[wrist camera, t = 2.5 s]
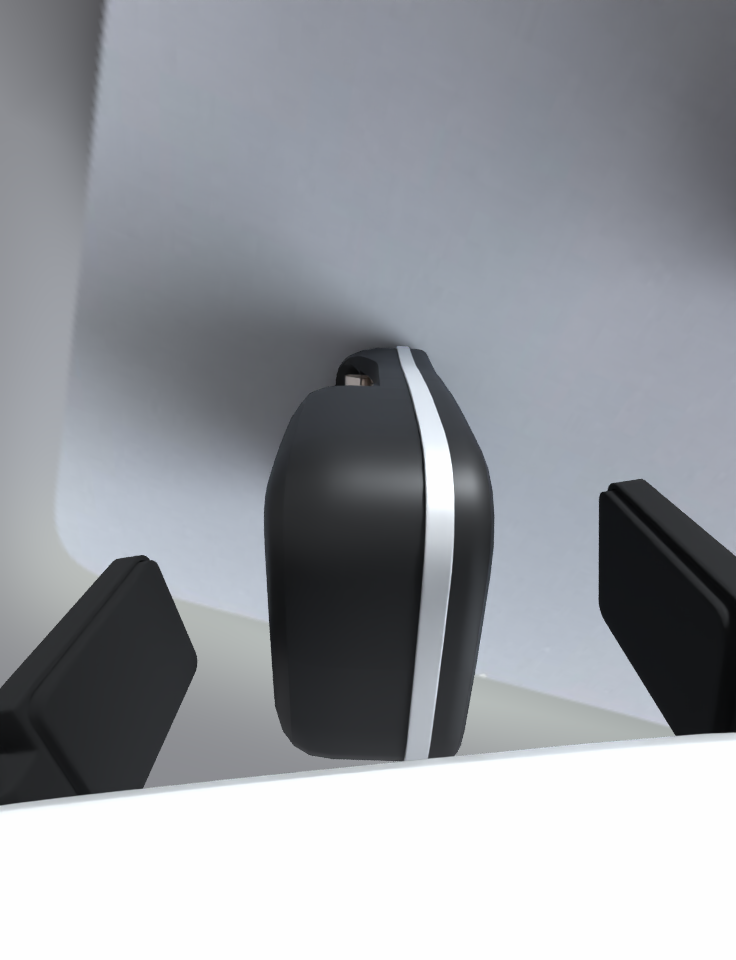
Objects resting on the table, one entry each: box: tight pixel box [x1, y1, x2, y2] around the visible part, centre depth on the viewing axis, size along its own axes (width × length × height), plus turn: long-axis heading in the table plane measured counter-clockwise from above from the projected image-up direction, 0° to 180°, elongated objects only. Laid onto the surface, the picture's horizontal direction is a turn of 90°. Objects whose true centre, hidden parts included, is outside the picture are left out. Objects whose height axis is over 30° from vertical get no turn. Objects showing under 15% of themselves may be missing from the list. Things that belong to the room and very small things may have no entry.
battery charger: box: [264, 346, 494, 761], centre depth 13 cm, size 7×4×11 cm, turn 178°
